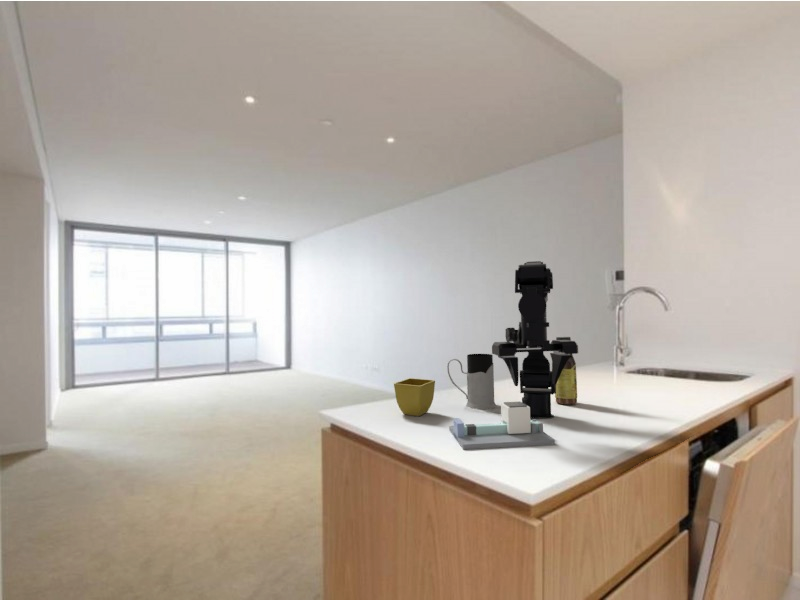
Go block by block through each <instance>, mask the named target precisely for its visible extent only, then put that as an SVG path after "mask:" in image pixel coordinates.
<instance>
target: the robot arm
mask: <svg viewBox="0 0 800 600" xmlns="http://www.w3.org/2000/svg"><path fill="white" fill-rule="evenodd" d="M514 271H515V272H514V273H515V274H514V275H515V276H514V277H515V278H514V293H515V294H520V295H521V297H520V299H519V301H518V306H517V307H518V311H519V313H520V321H518V329H515V327H506V328H505V334H504V335H505V341H494V342H493V343H492V346H491V355H495V356H497V357H498V358H499V359H500V360H501V359H502V360H503V362H505V365H506V368H507V369H508V371H509V374H510V377H511V380H512V382H513V385H514V386H516V387H518V385H519V388H520V391H519V392H520V394H523V397H521V402H522V403H524V404H525V405H527V406H529V407H530V419H548V418H550V419H551V418H554V417H555V416H554V414H553V413H552V403H551V402H552V401H551V400H552V397H551V395H555V393H556V383H557V381H558V379H559V377H560V374H561V372H562V370H563V368H564V366H565V365H566V363H567V361H568V360H569V358H572V357H573V358H574V354H575V355H576V354H579V345H578V343H577V342H576V341H575V340H571V341H570V340H556V339H553V340H552V341H551V343H550V340H549V339H548V328H550V322H547V302H548V300H549V299H548V297H549V296H548V294H551V290H554V279H553V278H554V277H553V272H552V271H551V268H550V267H549V268H548V267H547V264H546V263H544V261H541V260H537V261H526V262H524V264H519V265H518V269H515V270H514ZM544 352H550V358H551V361H552V362H551V364H550V360H549V359H548V358H547V357H546V356H545V354H544ZM517 353H527V355H526V357H524V359H523V360H522V364H521V366H522V367H521V368H522V369H520V370H519V357H518V356H516V354H517ZM570 354H572V355H570ZM551 365H552V366H551Z"/></svg>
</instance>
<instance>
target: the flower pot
mask: <svg viewBox="0 0 800 600" xmlns="http://www.w3.org/2000/svg"><path fill="white" fill-rule="evenodd" d="M435 386H436V380H435V379H425V378H424V379H421V378H414V377H411V378H406V379H404V380H401V381H397V382H394V383H393V388H394V393H395V399H396V403H397V405H398V408H399V410H400V411H401V412H402V413H403V415H409V416H415V417H419V416H422V415H424V414H427V413H428V412H429V409H430V408H431V406H432V403H433V400H434V395H435Z"/></svg>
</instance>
